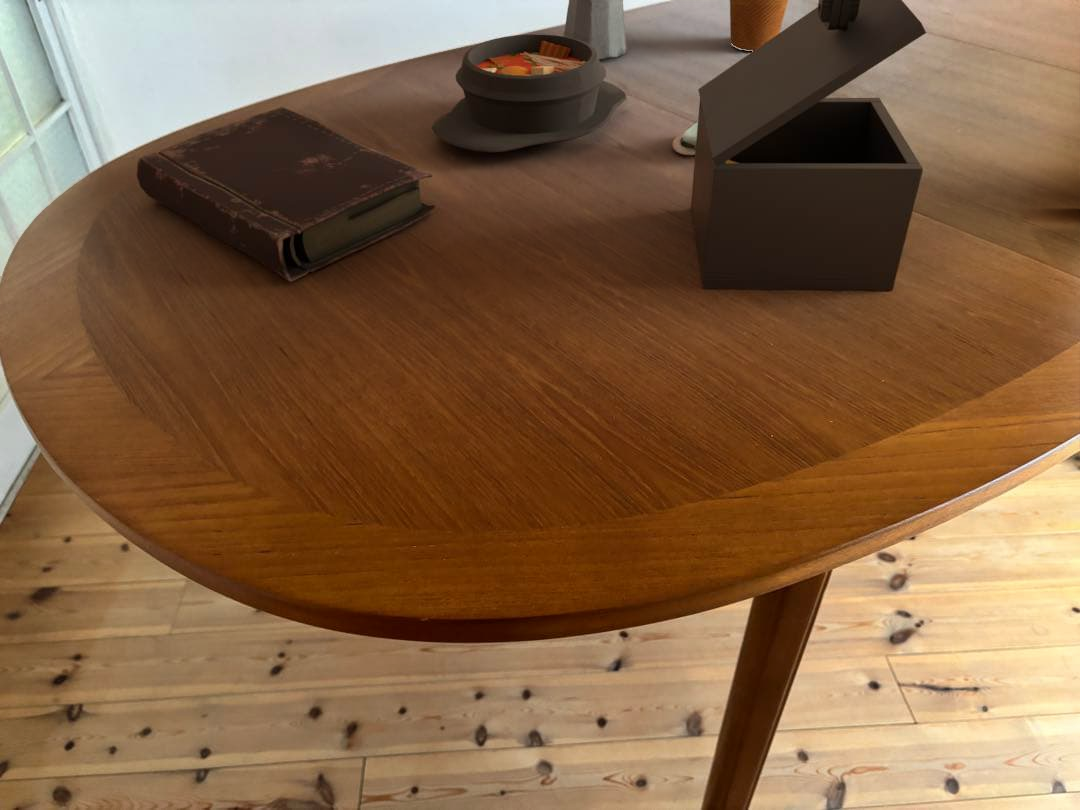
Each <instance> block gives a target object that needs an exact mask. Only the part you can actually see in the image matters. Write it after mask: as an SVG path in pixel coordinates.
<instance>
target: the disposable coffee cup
mask: <svg viewBox="0 0 1080 810" xmlns="http://www.w3.org/2000/svg"><path fill="white" fill-rule="evenodd" d="M788 3H789V0H729V18H730V19H729V23H730V24H729V25H730V27H729V28H730V29H729V30H730V32H729V33H730V44H731V43H732V44H733V45H734V46H736V47H738V48H741V49H746V50H753V51H754V50H756V49H757V48H759V47H760V46H762V45H763V44H765V43H766V42H767V41H769V40H770V39H772V38H773V37H775V36H776V35H778V34H779V33H780V32H781V28H782V25H783V22H784V18H785V14H786V10H787V6H788Z"/></svg>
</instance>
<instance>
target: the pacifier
mask: <svg viewBox="0 0 1080 810" xmlns="http://www.w3.org/2000/svg"><path fill="white" fill-rule="evenodd" d="M697 128H698V121H697V122H696V123H694V124H693V125H691V127H689V128H688V129H687V130H686V131H685V132H682V133H680V134H678V135H677V136H676V137H675V138H674V139H673V141H672V148H673V150H674V151H675V152H676V153H678V154H680V155H684V156H695V152H696V140H697ZM683 142H685V143H687V144H689V145H692V146H693V148H692V147H691V148H689V147H685V146H683V145H682V144H683Z"/></svg>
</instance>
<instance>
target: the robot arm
mask: <svg viewBox="0 0 1080 810" xmlns="http://www.w3.org/2000/svg"><path fill="white" fill-rule="evenodd" d="M859 5H860V0H818V3H817V7H818V9H817V11H818V15H819V18H820V20H821V21H822V22H824V25H825V27H826V29H827V30H846V29H847V27H848V22H854V21H855V19H856V17H857V15H858V11H859Z"/></svg>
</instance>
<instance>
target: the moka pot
mask: <svg viewBox="0 0 1080 810" xmlns="http://www.w3.org/2000/svg"><path fill="white" fill-rule="evenodd" d="M567 5H568V6H567V11H566V18H565V26H564V31H563V32H564V33H563V37H569V38H573V39H577V40H580V41H583V42H585V43H587V44H589V45H591V46H592V47H593V48H594V49H595V50H596V52H597V55H598V58H599V60H605V59H613V58H618V57H620V56H623V55H624V54H625V53H626V51H625V49H626V50H627V40H626V39H627V38H626V25H625V10H624V9H625V8H624V0H568V4H567ZM622 54H623V55H622Z"/></svg>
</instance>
